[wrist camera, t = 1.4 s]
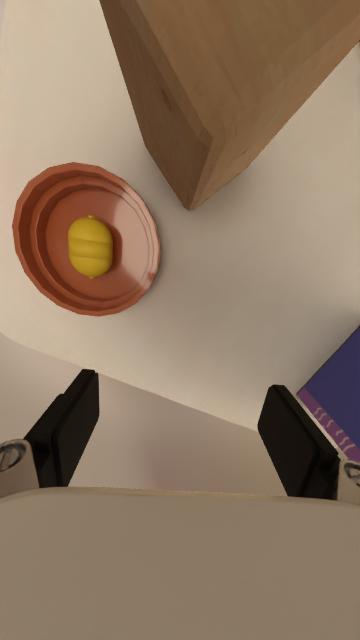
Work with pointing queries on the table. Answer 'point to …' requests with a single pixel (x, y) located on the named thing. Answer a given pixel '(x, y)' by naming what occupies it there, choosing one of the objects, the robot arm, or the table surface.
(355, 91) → the table surface
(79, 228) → the lemon
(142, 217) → the fruit bowl
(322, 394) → the purple book
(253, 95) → the wooden block
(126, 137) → the table surface
